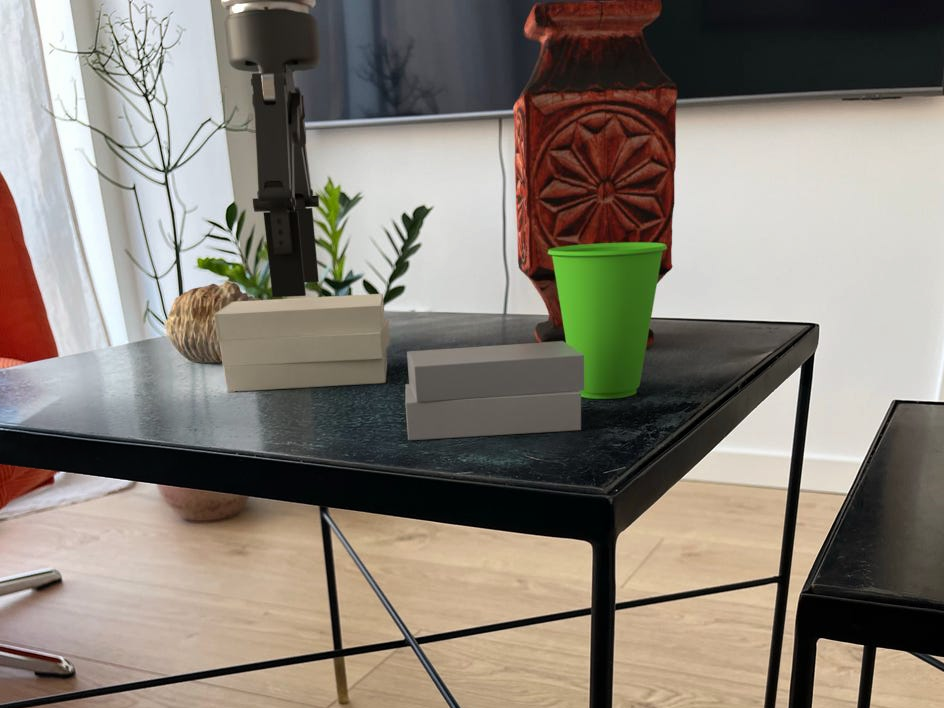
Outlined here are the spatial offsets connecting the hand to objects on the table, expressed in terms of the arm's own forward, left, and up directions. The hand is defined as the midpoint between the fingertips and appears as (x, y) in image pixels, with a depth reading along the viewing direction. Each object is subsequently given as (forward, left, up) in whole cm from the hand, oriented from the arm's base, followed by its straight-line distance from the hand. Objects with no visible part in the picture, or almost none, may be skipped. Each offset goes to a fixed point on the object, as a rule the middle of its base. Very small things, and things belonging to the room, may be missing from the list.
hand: (297, 289), depth 91 cm
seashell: (-10, +15, -8) cm, 20 cm away
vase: (+28, +11, -8) cm, 31 cm away
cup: (+25, -15, -8) cm, 31 cm away
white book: (0, 0, -4) cm, 4 cm away
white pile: (0, 0, -8) cm, 8 cm away
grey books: (+15, -24, -8) cm, 30 cm away
